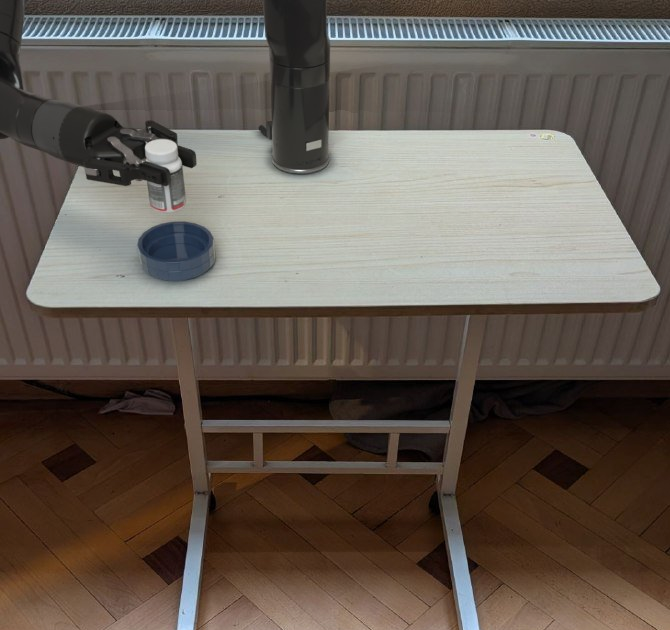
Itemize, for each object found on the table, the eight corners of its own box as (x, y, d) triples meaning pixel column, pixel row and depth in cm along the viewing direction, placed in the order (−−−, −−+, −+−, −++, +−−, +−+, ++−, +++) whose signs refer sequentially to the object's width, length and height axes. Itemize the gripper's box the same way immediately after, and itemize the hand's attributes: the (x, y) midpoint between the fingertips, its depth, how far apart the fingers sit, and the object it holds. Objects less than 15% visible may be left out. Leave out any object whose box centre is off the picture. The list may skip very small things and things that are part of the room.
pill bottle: (184, 194, 112) (178, 135, 106) (188, 212, 109) (182, 153, 103) (148, 197, 111) (140, 138, 105) (151, 216, 108) (143, 156, 102)
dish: (134, 250, 118) (130, 228, 115) (204, 237, 121) (202, 215, 118) (150, 290, 111) (146, 268, 109) (223, 275, 114) (222, 253, 112)
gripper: (32, 129, 103) (142, 165, 97) (108, 87, 112) (212, 118, 107) (45, 183, 108) (150, 220, 103) (116, 139, 117) (216, 172, 112)
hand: (181, 168), depth 105 cm, fingers closed on pill bottle, 4 cm apart
